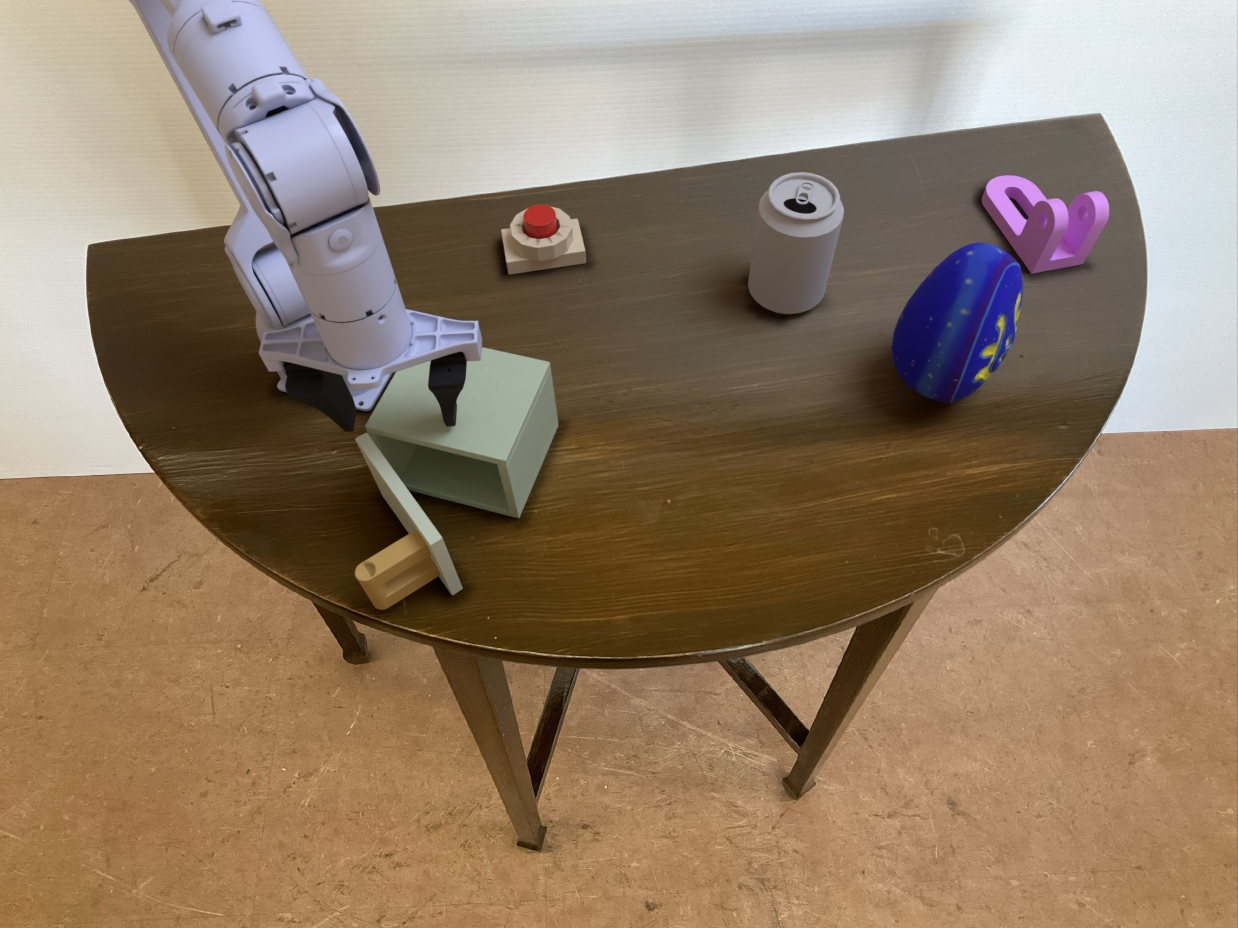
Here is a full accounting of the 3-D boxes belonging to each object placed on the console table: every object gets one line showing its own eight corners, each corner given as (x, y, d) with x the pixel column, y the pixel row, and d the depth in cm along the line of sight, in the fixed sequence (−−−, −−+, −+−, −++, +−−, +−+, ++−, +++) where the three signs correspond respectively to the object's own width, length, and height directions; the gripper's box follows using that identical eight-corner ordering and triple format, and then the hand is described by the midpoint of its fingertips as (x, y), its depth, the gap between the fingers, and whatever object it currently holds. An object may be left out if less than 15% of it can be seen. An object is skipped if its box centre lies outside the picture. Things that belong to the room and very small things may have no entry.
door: (392, 634, 65) (362, 587, 58) (324, 528, 70) (290, 473, 63) (463, 588, 67) (442, 537, 60) (392, 489, 72) (366, 432, 65)
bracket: (1082, 264, 85) (1114, 208, 80) (1031, 273, 85) (1059, 218, 79) (1020, 182, 93) (1045, 125, 87) (972, 191, 92) (995, 134, 86)
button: (527, 241, 85) (525, 228, 83) (523, 220, 86) (521, 206, 85) (559, 237, 85) (557, 223, 83) (554, 216, 87) (553, 202, 85)
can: (737, 308, 83) (750, 209, 73) (759, 258, 87) (774, 157, 77) (812, 328, 82) (836, 230, 72) (832, 276, 85) (857, 176, 75)
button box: (509, 278, 86) (504, 252, 83) (502, 238, 90) (497, 211, 87) (587, 267, 87) (585, 240, 84) (577, 227, 90) (575, 200, 87)
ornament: (952, 441, 74) (1015, 321, 61) (858, 390, 77) (900, 266, 65) (1007, 364, 79) (1076, 237, 66) (917, 319, 82) (966, 190, 69)
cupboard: (519, 519, 71) (505, 460, 63) (391, 486, 73) (364, 426, 66) (558, 425, 76) (550, 361, 69) (438, 397, 78) (418, 332, 71)
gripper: (221, 343, 51) (297, 467, 63) (463, 330, 51) (495, 456, 63) (244, 261, 55) (311, 392, 67) (468, 249, 55) (497, 382, 67)
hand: (401, 418), depth 65 cm, fingers open, 7 cm apart
